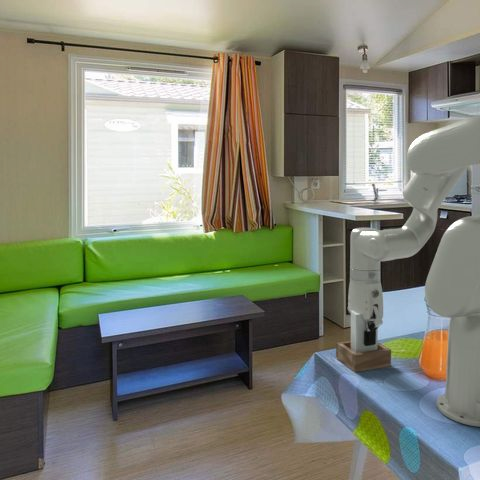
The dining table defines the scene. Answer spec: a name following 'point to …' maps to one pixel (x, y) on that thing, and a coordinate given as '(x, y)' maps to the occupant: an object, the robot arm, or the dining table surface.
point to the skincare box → (360, 334)
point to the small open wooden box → (363, 357)
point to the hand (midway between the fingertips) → (363, 340)
